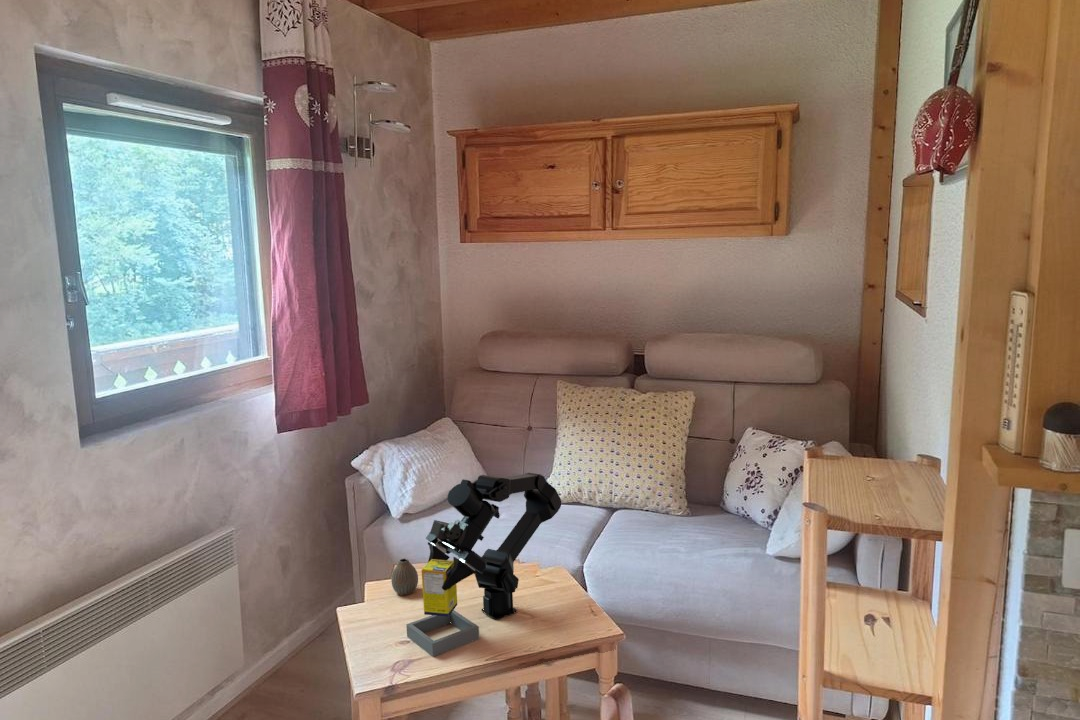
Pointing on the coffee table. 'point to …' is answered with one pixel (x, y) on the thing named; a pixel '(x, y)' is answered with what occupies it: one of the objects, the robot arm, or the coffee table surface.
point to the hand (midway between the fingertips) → (434, 583)
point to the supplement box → (438, 588)
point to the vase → (404, 578)
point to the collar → (448, 642)
